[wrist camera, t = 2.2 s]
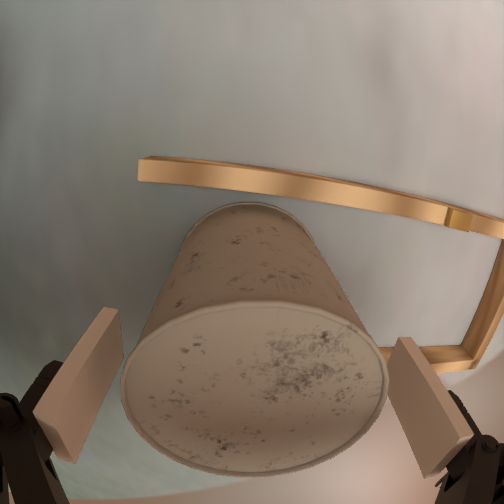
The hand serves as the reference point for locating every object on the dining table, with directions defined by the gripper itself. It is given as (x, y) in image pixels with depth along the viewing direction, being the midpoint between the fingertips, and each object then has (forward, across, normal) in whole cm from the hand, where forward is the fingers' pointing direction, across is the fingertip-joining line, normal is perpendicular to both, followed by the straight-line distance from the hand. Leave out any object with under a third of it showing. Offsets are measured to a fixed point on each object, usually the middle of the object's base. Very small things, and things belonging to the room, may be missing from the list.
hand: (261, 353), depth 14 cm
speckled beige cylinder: (+8, -1, 0) cm, 9 cm away
